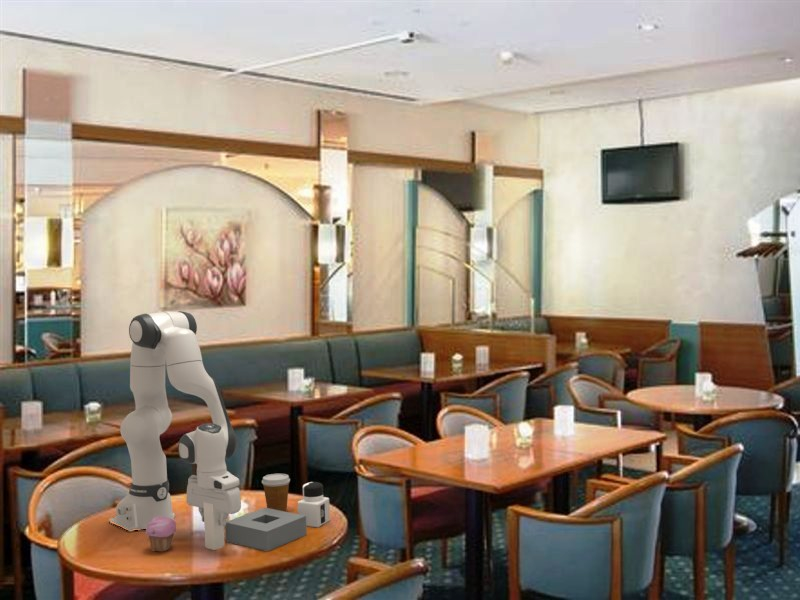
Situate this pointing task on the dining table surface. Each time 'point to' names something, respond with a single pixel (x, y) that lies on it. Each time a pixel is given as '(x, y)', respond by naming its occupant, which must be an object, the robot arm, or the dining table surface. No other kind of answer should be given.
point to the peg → (212, 527)
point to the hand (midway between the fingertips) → (214, 523)
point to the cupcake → (161, 533)
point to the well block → (265, 529)
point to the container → (314, 505)
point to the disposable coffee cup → (276, 491)
